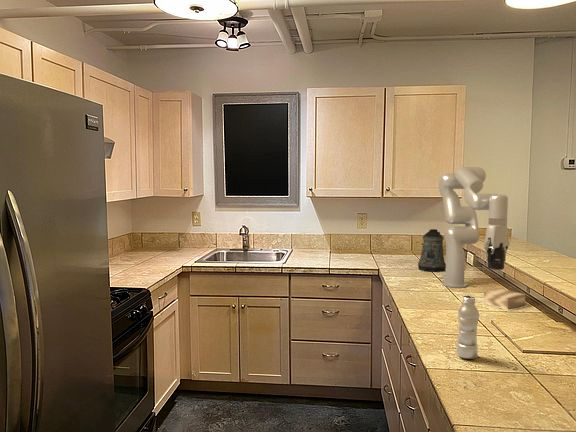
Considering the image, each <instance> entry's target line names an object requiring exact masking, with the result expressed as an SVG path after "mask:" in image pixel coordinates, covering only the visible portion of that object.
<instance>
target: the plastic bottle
mask: <svg viewBox="0 0 576 432" xmlns="http://www.w3.org/2000/svg"><path fill="white" fill-rule="evenodd" d="M457 317H458V328H459V329H458V332H459V333H458V338H457V339H458V341H457V344H456V353H457V355H458V356H459V357H460V358H462V359H465V360H474V359H476V358H477V357H478V351H479V348H478V341H477V340H478V338H477V333H478V332H477V331H478V324H479V319H480V312H479V310H478V308H477V306H476V297H475V296H471V295H463V296H462V305H461V306H460V307H459V309H458V311H457Z"/></svg>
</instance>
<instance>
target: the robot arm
mask: <svg viewBox="0 0 576 432" xmlns="http://www.w3.org/2000/svg"><path fill="white" fill-rule="evenodd" d="M486 177H487V175H486V171H485V169H484V168H482V167H479V166H464V167H463V166H462V167H460V168H458V169H457V170H456V171H455V172H449V173H444V174H441V176H440V177H439V179H438V190H439V192H440V195H441V198H442V201H443V209H444V218H445V221H446V223H447V224H449V225H455V226H449V227H448V228H446V229H445V231H444V240H445V264H446V267H445V271H444V272H445V273H444V274H442V275H441V276H440V280H441V279H442V280H443V281H442V282H441V285H442V286H444V287H448V288H455V289H457V288H458V289H461V288H467V287H468V283H467V282H465V269H466V268H465V267H466V265H465V264H466V263H465V262H466V253H465V252H466V251H465V250H464V248H463V246H462V245H473V244H474V245H475V244H477V243H478V242H479V241H480V240H479V239H480V229H479V223H478V222H479V221H478V217H477V212H476V211H488V224H487V226H486V232H485V237H484V238H485V239H484V244H483V249H484V250H485V251H486V254H487V260H486V261H487V263H488V262H489V263H494V258H495V254H494V251H495V248H499V246H500V244H501V243H502V244H503V247H502V248H503V249H504V250H505V260H506V256H507V254H506V253H507V250H508V249H509V247H510V246H511V245H510V242H509V231H508V208H509V201H508V200H509V197H508V195H506V194H498V193H480V192H481V191H482V190H483V188H484V182H485V180H486ZM454 190H464V191H463V198H464V201H465V203H466V204H467V206H462V204H461V199H460V197H459V195H458V193H457V192H456V191H454ZM460 225H461V226H460ZM463 225H464V226H463ZM491 249H492V251H491Z"/></svg>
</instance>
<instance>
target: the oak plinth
mask: <svg viewBox="0 0 576 432" xmlns="http://www.w3.org/2000/svg"><path fill="white" fill-rule="evenodd" d="M483 301H484V303H487V304H491V305H494V306H498V307H501V308H505V309H512V308H516V307H521V306H525V305H526V294H525V293H520V292H517V291H513V290H509V289H504V288H498V289H493V290H488V291H483ZM484 303H483V304H484ZM487 304H486V305H487ZM491 305H490V306H491ZM494 306H493V307H494ZM498 307H497V308H498ZM501 308H500V309H501ZM505 309H504V310H505Z"/></svg>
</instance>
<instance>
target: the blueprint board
mask: <svg viewBox="0 0 576 432" xmlns="http://www.w3.org/2000/svg"><path fill="white" fill-rule="evenodd" d="M479 303H481V304H484V305H488V306H491V307H495V308H498V309H502V310H504V311H509V312H513V311H517V310H521V309H526V308H529V307H531V305H528V304H525V306H521V307H516V308H512V309H505V308H501V307H498V306H494V305H491V304H487V303H484V300H482V301H479Z"/></svg>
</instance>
